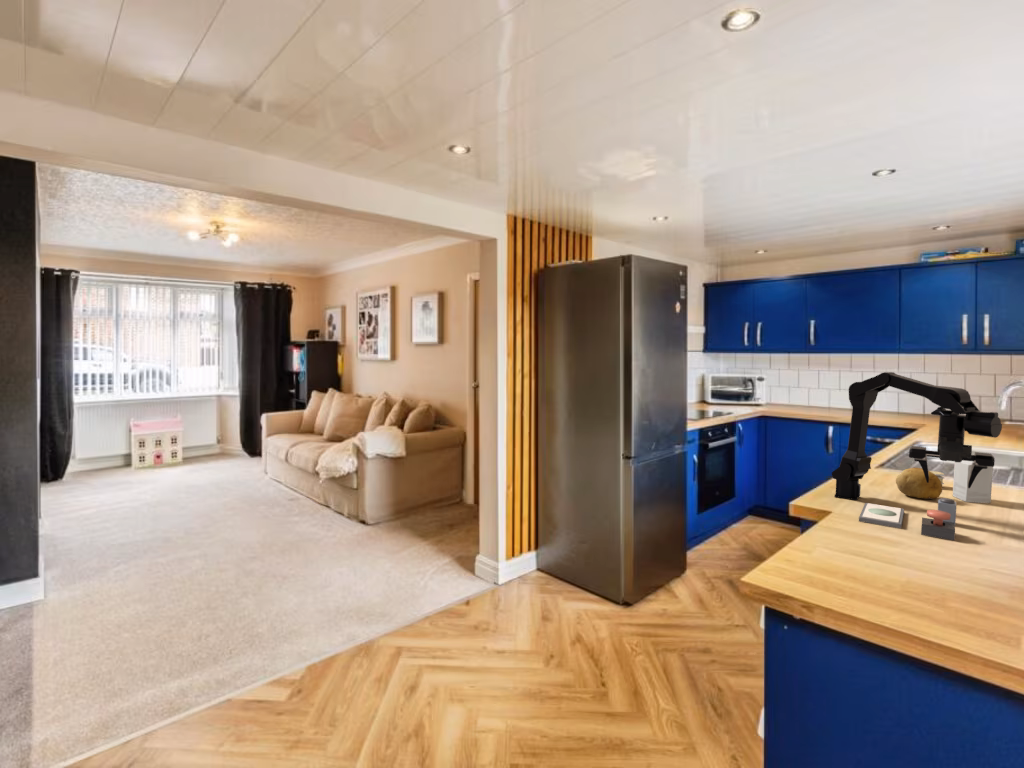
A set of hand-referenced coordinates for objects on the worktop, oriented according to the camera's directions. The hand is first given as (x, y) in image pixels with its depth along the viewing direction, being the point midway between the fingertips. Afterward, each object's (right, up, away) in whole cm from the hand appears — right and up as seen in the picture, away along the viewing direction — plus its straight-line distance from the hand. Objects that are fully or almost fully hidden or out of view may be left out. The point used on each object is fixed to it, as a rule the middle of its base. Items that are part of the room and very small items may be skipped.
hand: (948, 485), depth 152 cm
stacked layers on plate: (+27, -9, +41) cm, 49 cm away
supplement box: (+27, -10, +24) cm, 37 cm away
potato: (+12, -9, +27) cm, 31 cm away
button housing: (-10, -12, -8) cm, 17 cm away
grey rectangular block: (0, -11, +1) cm, 11 cm away
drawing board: (-15, -11, +6) cm, 19 cm away
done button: (-10, -10, -8) cm, 16 cm away
